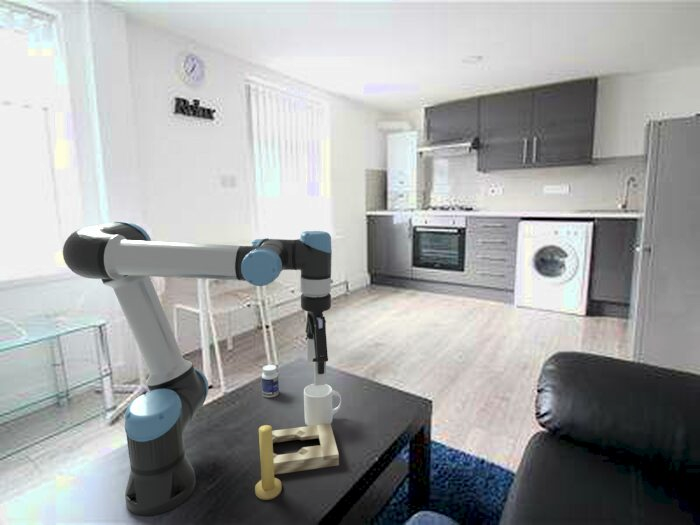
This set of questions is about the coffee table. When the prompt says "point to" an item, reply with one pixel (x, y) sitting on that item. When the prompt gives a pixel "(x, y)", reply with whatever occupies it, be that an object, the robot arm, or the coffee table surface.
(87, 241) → the robot arm
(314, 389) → the mug
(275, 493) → the headed peg
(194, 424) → the coffee table surface
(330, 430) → the keyhole board
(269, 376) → the pill bottle
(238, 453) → the coffee table surface
